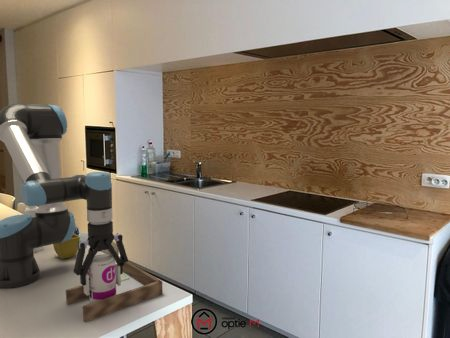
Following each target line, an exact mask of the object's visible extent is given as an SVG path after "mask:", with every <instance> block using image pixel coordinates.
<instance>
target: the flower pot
mask: <svg viewBox="0 0 450 338" xmlns="http://www.w3.org/2000/svg"><path fill="white" fill-rule="evenodd" d="M79 241H81V236H80V235H78V234H75V233H74V234H73V236H72V237H71V238H70V239H69V240H67V241H64V242H61V243H56V244H52V246H53V249H54V252H55V253H56V255H57V256H58V257H59V258H61V259H63V260H64V259H68V258H72V257H75V256H77V253H78V242H79Z"/></svg>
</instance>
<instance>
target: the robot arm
mask: <svg viewBox="0 0 450 338" xmlns="http://www.w3.org/2000/svg"><path fill="white" fill-rule="evenodd" d="M67 120H68V119H67V117H66V115H65V112H64V111H63V109H62V108H61V107H60V106H58V105H54V104H49V103H48V104H47V103H45V104H44V103H43V104H41V103H11V104H9V105H6V106H5V107H3V108H2V109H1V110H0V141H1V142H2V143H4V145H5V147H6V149H7V152H8V153H9V155H10V157H11V159H12V161H13V163H14V165H15V167H16V169H17V171H18V173H19V175H20V177H21V179H22V180H23V183H22V184H21V186H20V197H21V200H22V202H23V204H24V205H25V206H27V207H28V206H36V207H39V208H38V209H37V210H36V211H35V217H31V215H29V214H24V213H22V214H16V215H11V216H8V217H5V218H3V219H0V288H1V289H11V288H12V289H14V288H18V287H23V286H27V285H29V284H32V283H34V282H36V281H37V280H39V279H40V277H41V269H40V267H39V265H38V263H37V260H36V257H35V252H34V248H38V247H42V246H43V247H45V246H46V247H47V246H51V245H53V244H56V243H61V242H64V241H67V240H69V239H70V238H71V237H72V236H73V234H75V231H76V219H75V217H74V214H73V212H72V211H69V209H68V206H66V205H65V204H64V202H70V201H77V200H78V201H79V200H84V201H86V220H87V222H88V223H87V239H86V240H84V241H81V240H80V241H79V242H78V251H77V253H76V259H75V263H74V265H73V266H74V267H73V271H72V272H73V274H75V275H76V276H79V281H80V283H79V284H80V285H83V286H84V293H85V294H86V295H87V296H88V295H90V292H89V275H88V274H87V271H88V269H89V267H90V265H91V263H92V260H93V258H94V256H96V255H98V254H97V253H98V252H99V253H100V252H102V251H106V250H108V253H109V255H112V256H113V259H114V260H115V270H116V286H118V287H120V286H121V285H122V283H121V282H122V281H121V276H120V275H121V274H124V272H123V266H124V263H125V262H129V259H128V255H127V252H126V248H125V245H124V242H123V238H124V237H123V235H122V234H121V233H116V234H114V233H113V232H114V225H113V224H114V223H113V221H112V220H113V219H114V218H113V188H112V187H113V183H112V178H111V174H110V172H108V171H107V172H106V171H104V172H103V171H94V172H88V173H86V175H85V174H75V175H72V176H71V177H68V176H67V177H62V173H61V172H62V171H61V160H60V159H61V158H60V151H59V150H60V149H59V143H60V142H61V141H62V140H63V136H64V135H66V133H67V130H68V121H67ZM114 241H115V243H116V246H117V250H118V253H119V254H118V253H117V251H116V250H115V247H114V246H113V245H112V243H113V242H114ZM88 246H89V248H88V251H87V255H86V257H85V253H86V249H87V247H88ZM119 255H120V256H119Z"/></svg>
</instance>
